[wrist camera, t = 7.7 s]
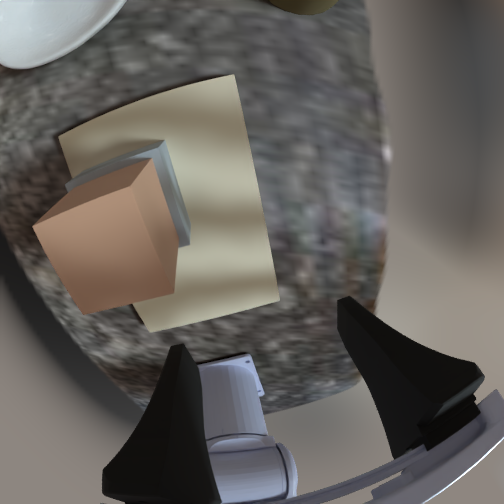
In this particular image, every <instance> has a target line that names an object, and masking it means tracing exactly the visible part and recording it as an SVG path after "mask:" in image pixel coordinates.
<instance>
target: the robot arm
mask: <svg viewBox="0 0 504 504" xmlns="http://www.w3.org/2000/svg"><path fill="white" fill-rule="evenodd" d="M337 329H338V332H339V334H340V336H341V339H342V341H343V343H344V345H345V348H346V349H347V351H348V353H349V355H350V356H351V358H352V360H353V361H354V363H355V365H356V367H357V368H358V370H359V372H360V373H361V375H362V377H363V379H364V380H365V382H366V384H367V386H368V388H369V390H370V392H371V395H372V397H373V400H374V402H375V405H376V407H377V410H378V412H379V415H380V418H381V421H382V424H383V426H384V429H385V432H386V436H387V439H388V442H389V445H390V449H391V453H392V456H393V458H394V460H393V461H391V462H389V463H387V464H385V465H382V466H380V467H378V468H376V469H374V470H371V471H369V472H367V473H364V474H362V475H360V476H357V477H355V478H352V479H349V480H347V481H344V482H341V483H338V484H336V485H333V486H330V487H327V488H324V489H320V490H317V491H314V492H311V493H307V494H303V495H300V496H297V495H296V488H297V482H298V477H297V469H296V465H295V461H294V458H293V456H292V454H291V452H290V451H289V449H288V448H286V447H285V446H284V445H283V444H281V443H275V440H274V437H273V436H268V433H267V429H266V425H265V421H264V416H263V412H262V408H261V404H260V400H259V396H262V395H264V391H263V388H262V385H261V383H260V380H259V377H258V374H257V372H256V369H255V366H254V363H253V361H252V358H251V355H250V354H244V355H239V356H235V357H231V358H227V359H223V360H218V361H214V362H209V363H204V364H200V365H197V364H196V363H195V361H194V360H193V358H192V356H191V355H190V353H189V352H188V350H187V348H186V347H185V345H184V343H183V344H179V345H174V346H171V347H170V350H169V353H168V356H167V359H166V362H165V364H164V367H163V370H162V373H161V375H160V378H159V381H158V383H157V386H156V388H155V391H154V393H153V395H152V397H151V400H150V402H149V404H148V406H147V408H146V410H145V412H144V414H143V416H142V418H141V420H140V422H139V423H138V425H137V426H136V428H135V430H134V431H133V433H132V434H131V436H130V437H129V439H128V440H127V442H126V443H125V444H124V446H123V447H122V448H121V450H120V451H119V452H118V454H117V455H116V456H115V457H114V458H113V459H112V460H111V461H110V462H109V464H108V465H107V466H106V467H105V468H104V469H103V474H102V493H103V494H104V495H105V496H107V497H110V498H113V499H116V500H119V501H122V502H125V504H320V503H324V502H327V501H330V500H333V499H336V498H339V497H342V496H345V495H347V494H350V493H353V492H355V491H358V490H360V489H363V488H365V487H367V486H370V485H372V484H375V483H376V482H379V481H381V480H383V479H385V478H388V477H390V476H391V475H394V474H396V473H398V472H400V471H402V470H403V471H402V472H401V475H400V476H398V477H396V478H394V479H392V480H390V481H388V482H386V483H384V484H382V485H380V486H379V487H377V488H375V489H373V490H372V491H371V493H372V495H373V500H371V501H368V502H365V503H363V504H424V503H425V502H427V501H429V500H430V499H432V498H433V497H434V496H436V495H437V494H439V493H440V492H442V491H443V490H445V489H446V488H447V487H449V486H450V485H451V484H453V483H454V482H455V481H457V480H458V479H459V478H460V477H462V476H463V475H464V474H465V473H467V472H468V471H469V470H470V469H471V468H473V467H474V466H475V465H476V464H477V463H478V462H480V461H481V460H482V459H483V458H484V457H485V456H486V455H487V454H488V453H489V452H490V451H491V450H492V449H494V447H496V446H497V445H498V444H499V443H500V442H501V441H502V440H503V439H504V399H503V398H502V396H501V395H500V393H499V392H498V390H497V389H496V390H494V391H493V392H492V393H490V394H489V395H488V396H487V397H486V398H485V399H483V400H482V401H481V402H480V403H479V404H478V405H476V404H475V402H474V401H475V400H476V397H475V396H474V392H475V391H476V390H477V389H478V387H479V386H480V385H481V384H482V382H483V381H484V378H485V376H484V374H483V373H482V372H481V370H480V369H479V367H478V366H477V365H476V364H475V363H474V362H470V361H465V360H461V359H457V358H454V357H451V356H448V355H445V354H442V353H439V352H437V351H435V350H432V349H430V348H427V347H425V346H423V345H421V344H419V343H417V342H415V341H413V340H411V339H409V338H408V337H406V336H404V335H402V334H401V333H399V332H398V331H396V330H395V329H393V328H392V327H390V326H388V325H387V324H385V323H384V322H383V321H381V320H380V319H379V318H377V317H376V316H375V315H373V314H372V313H371V312H369V311H368V310H367V309H366V308H364V307H363V306H362V305H361V304H359V303H358V302H357V301H356V300H354V299H353V298H352V297H350V296H348V297H345V298H342V299H339V300H337ZM100 504H104V503H100Z"/></svg>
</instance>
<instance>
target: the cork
mask: <svg viewBox="0 0 504 504" xmlns="http://www.w3.org/2000/svg"><path fill="white" fill-rule="evenodd" d="M269 1H270V2H271V3H272V4H273V5H275V6H277V7H279V8H281V9H283V10H285V11H288V12H291V13H295V14H298V15H314V14H319V13H323V12H325V11H326V10H328V9H329V8H331V7H332V6H333V5H334V4H335V3H336V2H337V1H339V0H269Z"/></svg>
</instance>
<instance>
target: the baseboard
mask: <svg viewBox="0 0 504 504" xmlns="http://www.w3.org/2000/svg"><path fill="white" fill-rule="evenodd" d="M58 137H59V141H60V144H61V147H62V150H63V153H64V156H65V159H66V162H67V165H68V168H69V170H70V173H71V176H72V179H71V180H70V181H69V182H67V183H66V184H65V187H66V189H67V192H68V193H69V192H70V191H71V190H72V189H73V188H75V187H77V186H79V185H82V184H84V183H86V182H89V181H91V180H94V179H96V178H99V177H101V176H104V175H106V174H109V173H111V172H114V171H116V170H119V169H122V168H124V167H127V166H130V165H133V164H136V163H138V162H141V161H144V160H147V159H150V158H152V159H153V163H154V166H155V169H156V172H157V175H158V178H159V182H160V185H161V188H162V191H163V194H164V197H165V200H166V203H167V206H168V209H169V212H170V214H171V217H172V220H173V223H174V226H175V229H176V231H177V234H178V237H179V246H178V256H177V267H176V279H175V292H174V293H173V294H169V295H165V296H161V297H157V298H153V299H149V300H145V301H141V302H136V303H132V304H133V306H134V307H135V309H136V311H137V312H138V314H139V316H140V317H141V319H142V321H143V322H144V324H145V325H146V327H147V329H148V330H149V332H155V331H160V330H164V329H169V328H174V327H178V326H182V325H187V324H191V323H195V322H200V321H204V320H208V319H212V318H216V317H220V316H224V315H228V314H232V313H236V312H240V311H243V310H247V309H251V308H255V307H258V306H262V305H266V304H269V303H273V302H276V301H280V298H279V292H278V287H277V281H276V276H275V271H274V265H273V260H272V255H271V249H270V244H269V239H268V234H267V229H266V224H265V219H264V214H263V209H262V204H261V199H260V194H259V189H258V184H257V179H256V174H255V169H254V164H253V159H252V155H251V150H250V145H249V140H248V136H247V131H246V126H245V122H244V117H243V113H242V108H241V103H240V99H239V94H238V90H237V86H236V81H235V77H234V74H233V75H228V76H223V77H219V78H214V79H210V80H206V81H202V82H198V83H194V84H190V85H186V86H183V87H179V88H176V89H172V90H169V91H166V92H163V93H160V94H156V95H153V96H150V97H148V98H145V99H142V100H139V101H136V102H134V103H131V104H128V105H126V106H123V107H121V108H118V109H116V110H113V111H111V112H108V113H106V114H104V115H101V116H99V117H97V118H95V119H93V120H90V121H88V122H86V123H84V124H82V125H80V126H78V127H76V128H74V129H72V130H70V131H68V132H66V133H64V134H62V135H60V136H58Z"/></svg>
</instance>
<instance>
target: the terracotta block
mask: <svg viewBox="0 0 504 504" xmlns="http://www.w3.org/2000/svg"><path fill="white" fill-rule="evenodd" d="M32 227H33V229H34V231H35V233H36V235H37V237H38V239H39V241H40V243H41V245H42V247H43V249H44V251H45V253H46V255H47V256H48V258H49V260H50V262H51V264H52V266H53V267H54V269H55V271H56V273H57V274H58V276H59V278H60V279H61V281H62V283H63V284H64V286H65V288H66V289H67V291H68V292H69V294H70V295H71V297H72V299H73V300H74V302H75V303H76V305H77V306H78V308H79V309H80V311H81V312H82V314H83V315H85V314H89V313H94V312H98V311H103V310H107V309H111V308H115V307H120V306H124V305H128V304H132V303H136V302H141V301H145V300H149V299H153V298H157V297H161V296H165V295H169V294H173V293H174V292H175V279H176V267H177V256H178V246H179V237H178V234H177V231H176V229H175V226H174V223H173V220H172V217H171V214H170V212H169V209H168V206H167V203H166V200H165V197H164V194H163V191H162V188H161V185H160V182H159V178H158V175H157V172H156V169H155V166H154V163H153V159H152V158H150V159H147V160H144V161H141V162H138V163H136V164H133V165H130V166H127V167H124V168H122V169H119V170H116V171H114V172H111V173H109V174H106V175H104V176H101V177H99V178H96V179H94V180H91V181H89V182H86V183H84V184H82V185H79V186H77V187H75V188H73V189H72V190H71V191H70V192H69V193H67V194H66V195H65V196H64V197H63V198H62V199H61V200H60V201H58V202H57V203H56V204H55V205H54V206H53V207H52V208H51V209H50V210H49V211H48V212H46V213H45V214H44V215H43V216H42V217H41V218H40V219H39V220H38V221H37V222H36V223H35V224H34V225H33V226H32Z"/></svg>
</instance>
